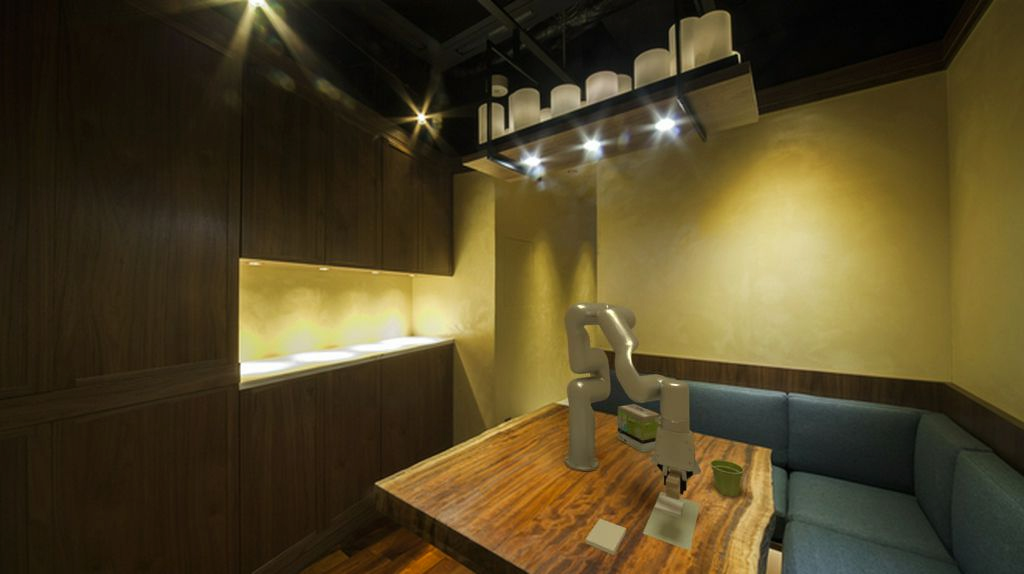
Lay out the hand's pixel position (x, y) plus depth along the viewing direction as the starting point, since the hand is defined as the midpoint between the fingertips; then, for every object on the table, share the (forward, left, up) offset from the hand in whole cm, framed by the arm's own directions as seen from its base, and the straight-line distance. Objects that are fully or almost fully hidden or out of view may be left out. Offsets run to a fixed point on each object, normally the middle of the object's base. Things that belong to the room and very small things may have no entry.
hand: (675, 489), depth 99 cm
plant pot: (-24, +12, -8) cm, 28 cm away
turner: (+2, 0, -1) cm, 2 cm away
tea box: (-47, -21, -8) cm, 52 cm away
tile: (+15, -13, -7) cm, 21 cm away
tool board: (+1, 0, -8) cm, 8 cm away
